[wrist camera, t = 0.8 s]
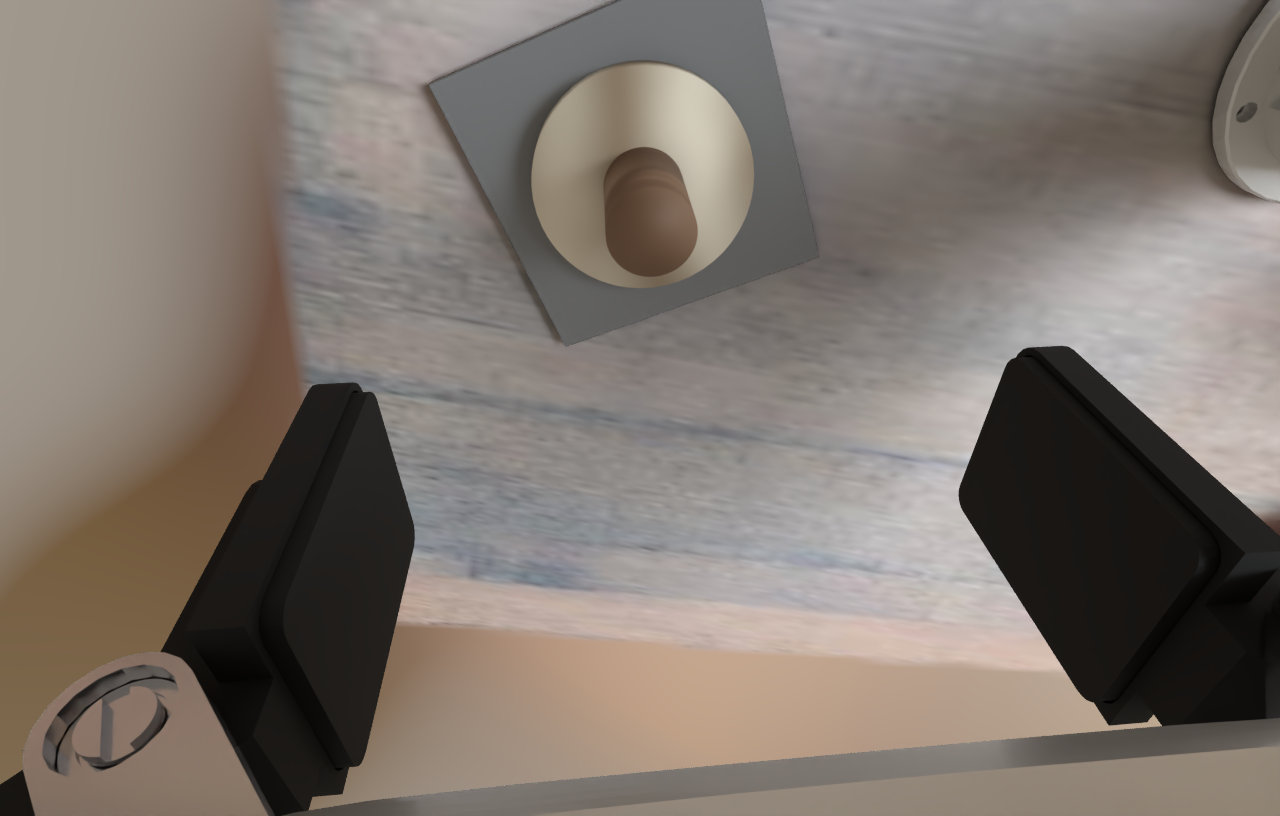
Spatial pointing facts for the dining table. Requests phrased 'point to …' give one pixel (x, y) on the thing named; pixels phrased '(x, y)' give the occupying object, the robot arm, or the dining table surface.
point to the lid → (642, 174)
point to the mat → (559, 58)
